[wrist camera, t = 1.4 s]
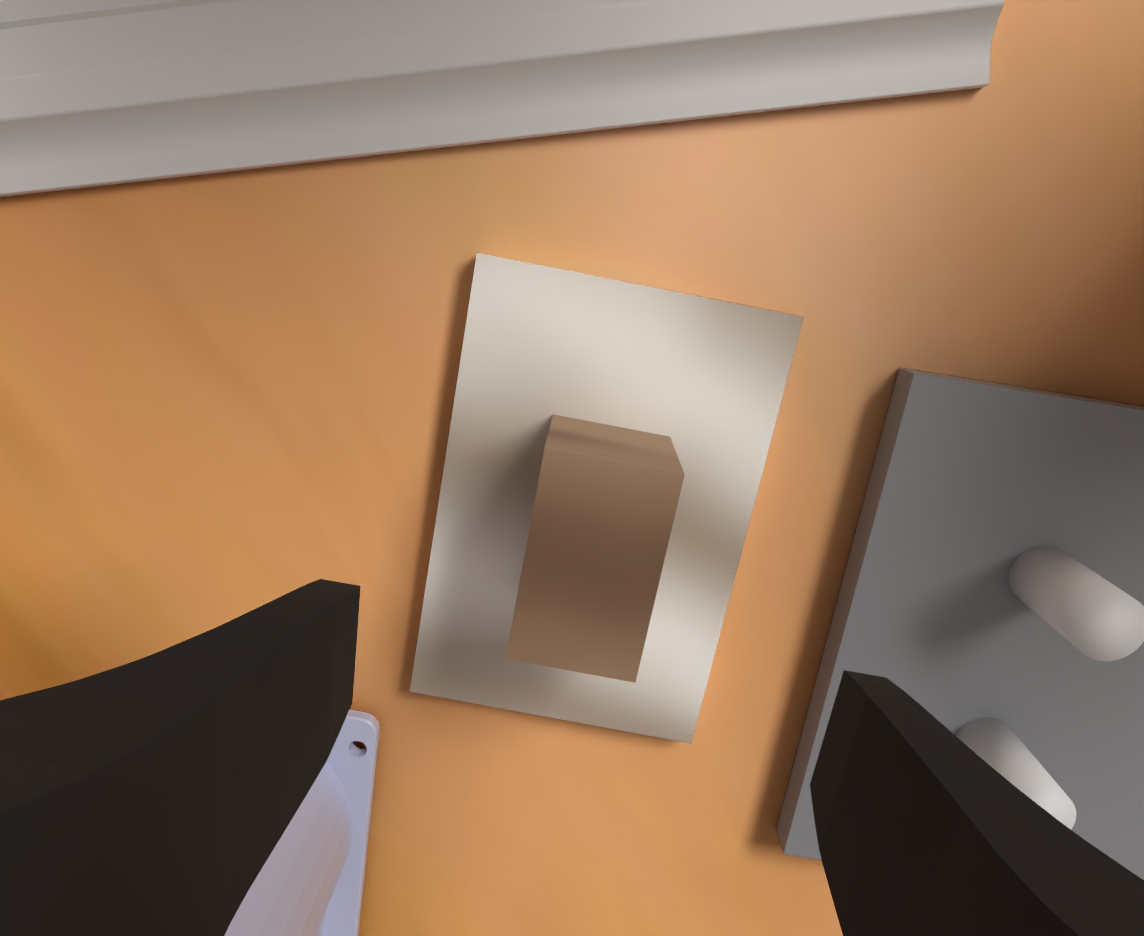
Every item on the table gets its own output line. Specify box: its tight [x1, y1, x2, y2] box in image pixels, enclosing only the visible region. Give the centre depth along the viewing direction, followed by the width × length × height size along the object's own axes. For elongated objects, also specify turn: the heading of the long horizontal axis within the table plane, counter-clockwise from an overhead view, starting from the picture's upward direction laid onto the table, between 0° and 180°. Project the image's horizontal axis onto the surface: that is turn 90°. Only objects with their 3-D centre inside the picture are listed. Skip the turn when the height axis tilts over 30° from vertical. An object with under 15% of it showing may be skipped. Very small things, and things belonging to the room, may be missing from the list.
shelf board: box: [410, 253, 803, 743], centre depth 20 cm, size 12×8×5 cm, turn 169°
